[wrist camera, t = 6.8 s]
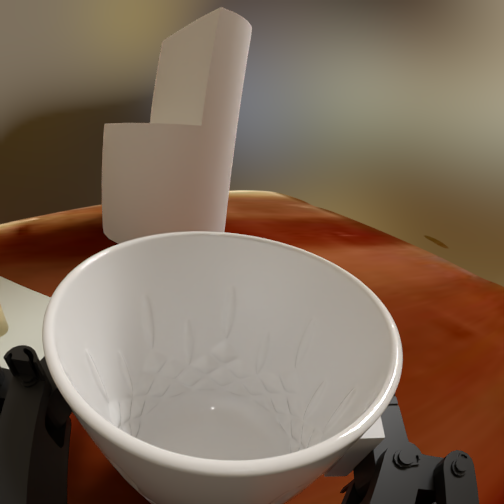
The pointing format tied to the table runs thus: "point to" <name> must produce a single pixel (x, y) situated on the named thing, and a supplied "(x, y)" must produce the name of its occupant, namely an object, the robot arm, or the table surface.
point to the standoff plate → (20, 318)
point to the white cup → (220, 364)
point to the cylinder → (180, 136)
